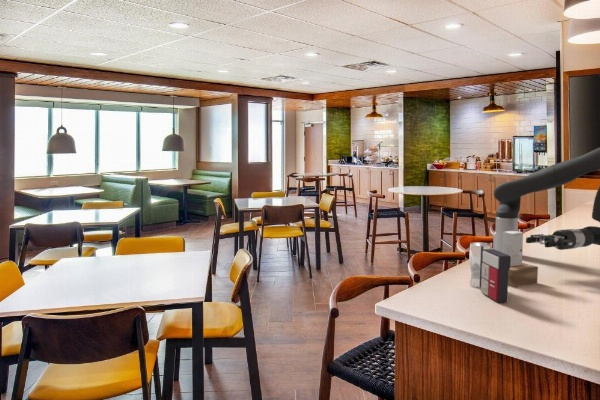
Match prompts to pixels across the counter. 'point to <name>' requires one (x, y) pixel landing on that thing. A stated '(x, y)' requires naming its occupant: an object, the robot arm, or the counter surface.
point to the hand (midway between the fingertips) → (535, 242)
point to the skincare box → (513, 246)
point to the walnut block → (522, 275)
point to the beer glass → (476, 262)
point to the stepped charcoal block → (495, 274)
